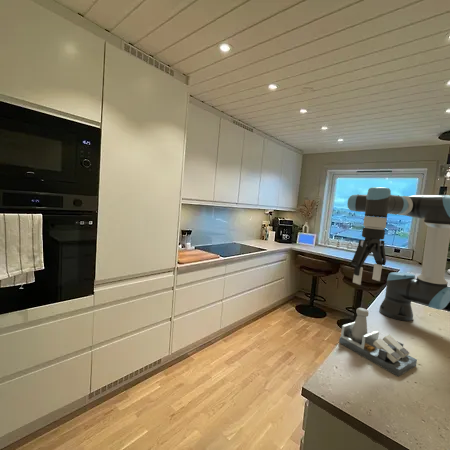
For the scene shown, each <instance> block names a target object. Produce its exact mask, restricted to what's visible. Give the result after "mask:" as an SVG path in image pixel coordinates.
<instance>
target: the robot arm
mask: <svg viewBox="0 0 450 450" xmlns="http://www.w3.org/2000/svg"><path fill="white" fill-rule="evenodd" d="M391 191H392V190H391V189H390V187H380V186H379V187H377V186H376V187H373V186H372V187H370V188H368V191H367V194H360V193H359V194H352V195H350V196H349V198H348V199H347V208H348V210H350V211H351V212H352V211H353V212H356V213H357V212H358V213H359V212H360V213H364V216H363V217H364V218H363V228H362V230H361V231H362V232H361V236H362V238H364V240H363V239H362V240H361V239H359V241H358V245H357V246H356V247H357V248H356V250H355V253H354V255H353V257H352V259H351V262H350V264H351V266H353V267H354V270H353V277H352V283H353V284H356V285H359V286H361V285H362V277H363V270H364V267H363V265H364V263H365V262H366V259H367V258H368V256H369V255H370V254H372V255H373V259H374V261H375V263H373V270H372V278H371V279H372V280H374V281H377V282H381V275H382V269H383V266H386V263H387V258H386V250H385V240H384V239H385V234H386V230H385V229H386V227H387V221H388V215H398V216H406V217H410V218H415V219H423V223H424V224H425V226H427V228H426V236H425V242H424V243H425V244H424V249H423V251H424V252H423V258H422V266H421V274H419V275H417V276H416V275H415V274H413V273H408V272H398V271H396V272H395V271H394V272H390V273H388V276H387V279H386V287H385V295H384V299H383V300H382V302H381V304H380V305H379V313H381V314H382V315H384V316H385V317H388V318H391V319H394V320H397V321H403V322H411V321H413V319H414V312H413V309H412V302H415V303H416V304H420V305H422V306H425V307H428V308H431V309H435V310H438V311H439V310H443V309H446V307H447V306H448V305H449V303H450V286H448V280H447V279H445V274H446V269H447V267H446V266H447V260H448V252H449V246H450V195H449V194H437V195H436V194H415V195H406V196H405V195H397V194H392V193H391Z"/></svg>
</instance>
